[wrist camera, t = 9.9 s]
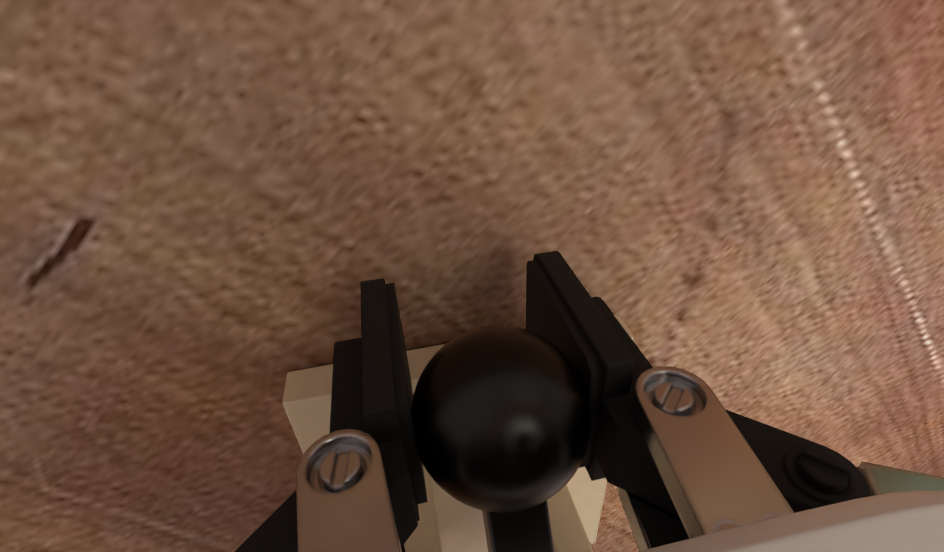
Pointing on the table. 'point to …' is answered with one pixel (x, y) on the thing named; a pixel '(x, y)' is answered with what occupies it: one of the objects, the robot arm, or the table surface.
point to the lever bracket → (441, 518)
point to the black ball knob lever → (502, 429)
